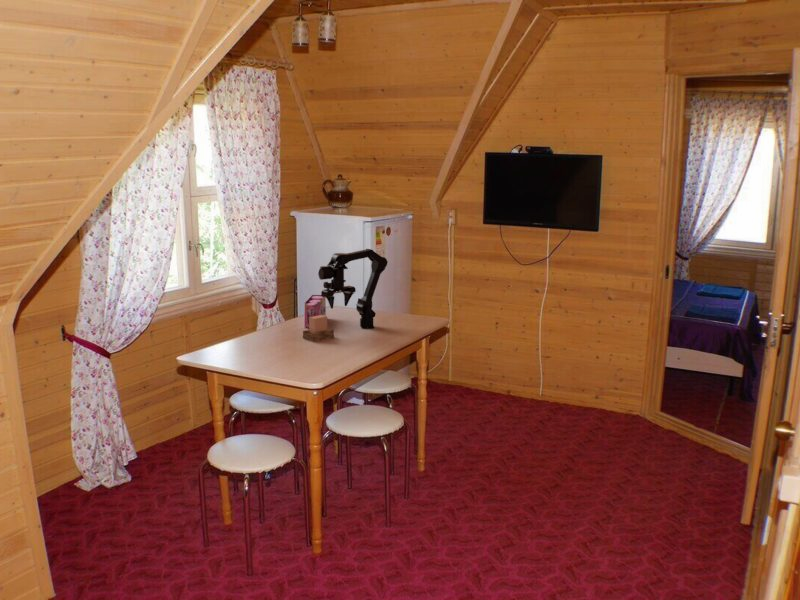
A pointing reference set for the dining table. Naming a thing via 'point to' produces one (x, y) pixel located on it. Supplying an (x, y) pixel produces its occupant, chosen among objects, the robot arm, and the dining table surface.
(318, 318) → the terracotta block
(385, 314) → the dining table surface
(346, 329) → the dining table surface
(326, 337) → the walnut rack
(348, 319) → the dining table surface
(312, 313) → the gum box
